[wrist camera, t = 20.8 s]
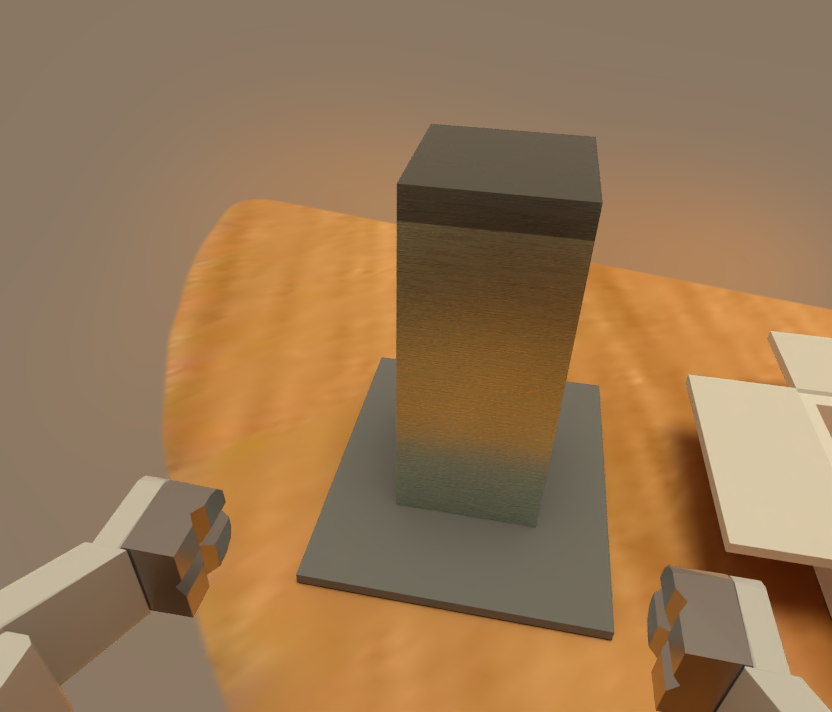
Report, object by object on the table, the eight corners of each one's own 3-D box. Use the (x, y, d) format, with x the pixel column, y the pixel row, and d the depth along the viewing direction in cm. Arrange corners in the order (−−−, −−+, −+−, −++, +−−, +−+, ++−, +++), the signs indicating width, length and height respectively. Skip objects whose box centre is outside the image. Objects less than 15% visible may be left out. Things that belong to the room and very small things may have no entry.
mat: (597, 392, 29) (599, 385, 29) (611, 639, 20) (614, 632, 19) (381, 364, 30) (381, 357, 30) (297, 581, 21) (296, 574, 21)
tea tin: (541, 431, 26) (595, 136, 19) (536, 527, 22) (602, 202, 15) (421, 413, 27) (431, 123, 20) (395, 504, 23) (396, 183, 16)
